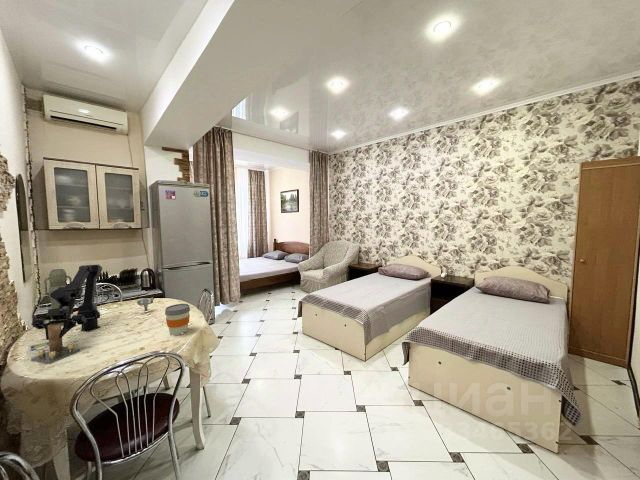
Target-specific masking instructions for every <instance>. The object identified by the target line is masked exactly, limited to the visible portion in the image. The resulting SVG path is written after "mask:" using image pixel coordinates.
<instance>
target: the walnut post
mask: <svg viewBox="0 0 640 480" xmlns="http://www.w3.org/2000/svg"><path fill="white" fill-rule="evenodd" d="M61 331H62V326H61V323H53V324H50V325H48V337H49V339H48V341H49V349H50V350H49V352H51V351H55V353H56V352H59V351H62V350H63V346H64V344H63V343H64V342H63V337H62V338H59V336H60V333H61Z"/></svg>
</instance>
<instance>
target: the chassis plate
mask: <svg viewBox="0 0 640 480" xmlns="http://www.w3.org/2000/svg"><path fill="white" fill-rule="evenodd" d="M79 352H81V348H76V347H73V343H70V344H67V345H66V346H64V345H63V350H62V351H59V352H56V353H55V351H51V352H50V351H45V349H42V350H39V353H38V355H37V356H34V357H31V358H30V359H31V360H30V361H31V362H35V361H37V362H36V363H41V362H42V364H49V365H51V364H53V363H55V362H58V361H60V360H62V359H64V358H67V357H69V356H72V355H74V354H76V353H79Z"/></svg>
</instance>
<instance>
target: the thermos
mask: <svg viewBox="0 0 640 480" xmlns="http://www.w3.org/2000/svg"><path fill="white" fill-rule="evenodd" d="M48 280H49V288H48V287H47V286H48V285H47V284H48V283H47V281H48ZM68 280H69V281H68ZM72 280H73V277H71V276H70V275H67V271H66V270H65V269H63V268H57V269H52V270H50V272H49V274H48V277H46V278H45V279H44V280H43V281H44V293H45V295H46V296H48V297H49V299H50V300H49V301H50V309H56V308H58V307H59V304H57V303H56V302H55V301H54V300H53V299H52V298H51V297H50V294H51V293H52V292H53V291H55V290H57V289H58V288H59V287H65V286H66V285H67V284H69V283H71V282H72ZM67 281H68V282H69V283H68V282H67ZM70 318H72V315H71V316H70ZM50 320H53V319H51V318H50ZM63 326H64V323H61V327H63Z"/></svg>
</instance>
